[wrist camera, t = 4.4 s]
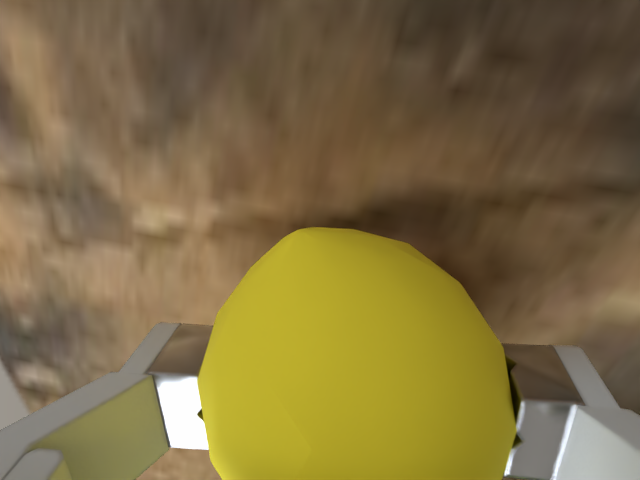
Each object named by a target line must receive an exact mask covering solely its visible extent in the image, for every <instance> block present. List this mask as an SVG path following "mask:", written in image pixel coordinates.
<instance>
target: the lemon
mask: <svg viewBox="0 0 640 480" xmlns="http://www.w3.org/2000/svg"><path fill="white" fill-rule="evenodd" d="M197 385H198V391H199V397H200V402H201V408H202V414H203V419H204V425H205V431H206V437H207V442H208V448H209V454H210V459H211V462H212V464H213V466H214V467H215V469H216V470H217V472H218V474H219V475H220V477H221V478H222V480H502V477H503V474H504V471H505V468H506V464H507V461H508V458H509V455H510V451H511V448H512V445H513V442H514V439H515V435H516V432H517V429H516V423H515V417H514V410H513V404H512V398H511V391H510V385H509V379H508V372H507V366H506V360H505V354H504V348H503V346H502V345H501V343H500V342H499V340H498V339H497V337H496V336H495V334H494V333H493V331H492V330H491V328H490V327H489V325H488V324H487V322H486V321H485V319H484V318H483V316H482V315H481V313H480V312H479V310H478V309H477V307H476V306H475V304H474V303H473V301H472V300H471V298H470V297H469V295H468V294H467V292H466V291H465V289H464V288H463V286H462V285H461V283H460V282H458V281H457V280H456V279H455V278H453V277H452V276H451V275H449V274H448V273H447V272H445V271H444V270H443V269H441V268H440V267H439V266H437V265H436V264H435V263H434V262H432V261H431V260H430V259H428V258H427V257H426V256H424V255H423V254H422V253H420V252H419V251H418V250H416V249H415V248H414V247H412V246H411V245H410V244H409V243H405V242H401V241H398V240H394V239H390V238H386V237H382V236H378V235H375V234H371V233H367V232H363V231H359V230H355V229H341V228H323V227H309V228H304V229H299V230H296V231H294V232H293V233H291V234H289V235H287V236H285V237H284V238H282V239H281V240H280V241H279V242H278V243H277V244H276V245H275V246H274V247H272V248H271V249H270V250H269V251H268V252H267V253H266V254H265V255H264V256H262V257H261V258H260V259H259V260H258V261H257V262H256V263H255V264H254V265H253V266H251V268H250V269H249V270H248V272H247V273H246V275H245V276H244V277H243V279H242V280H241V281H240V283H239V284H238V286H237V287H236V288H235V290H234V291H233V292H232V294H231V295H230V297H229V298H228V299H227V301H226V302H225V303H224V305H223V306H222V308H221V309H220V310H219V312H218V313H217V316H216V319H215V322H214V326H213V329H212V333H211V336H210V339H209V343H208V346H207V349H206V353H205V356H204V360H203V363H202V366H201V370H200V373H199V376H198V380H197Z"/></svg>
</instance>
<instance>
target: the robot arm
mask: <svg viewBox="0 0 640 480" xmlns="http://www.w3.org/2000/svg"><path fill="white" fill-rule="evenodd" d="M212 329H213V326H209V325H197V324H184V323H183V324H181V323H168V322H160V323H158V324H156V325H155V326H154V327H153V328H152V329H151V331H150V332H149V333H148V335H147V336H146V337H145V338H144V340H143V341H142V342H141V344H140V345H139V346H138V348H137V349H136V350H135V351H134V353H133V354H132V355H131V357H130V358H129V359H128V360H127V362H126V363H125V364H124V366H123V367H122V368H121V369H120V371H119V372H110V373H108V374H106V375H104V376H102V377H100V378H99V379H97V380H95V381H93V382H91V383H89V384H87V385H85V386H83V387H81V388H80V389H78V390H76V391H74V392H72V393H70V394H68V395H66V396H64V397H62V398H60V399H59V400H57V401H55V402H53V403H51V404H49V405H47V406H45V407H43V408H41V409H39V410H38V411H36V412H34V413H32V414H30V415H28V416H27V417H24V418H23V419H20V420H19V421H17V422H15V423H13V424H11V425H9V426H7V427H5V428H3V429H1V430H0V480H135V479H136V478H138V477H139V476H140V475H141V474H142V473H143V472H144V471H145V470H147V469H148V468H149V467H150V466H151V465H152V464H153V463H155V462H156V461H157V460H158V459H159V458H160V457H161V456H163V455H164V454H165V453H166V452H167V451H168V450H169V447H173V448H189V449H205V450H209V448H208V442H207V437H206V431H205V425H204V419H203V414H202V408H201V402H200V397H199V391H198V385H197V380H198V376H199V373H200V370H201V366H202V363H203V360H204V356H205V353H206V349H207V346H208V343H209V339H210V336H211V333H212ZM501 345H502V346H503V348H504V354H505V360H506V366H507V372H508V379H509V385H510V391H511V398H512V404H513V410H514V417H515V423H516V429H517V432H516V435H515V439H514V442H513V445H512V448H511V451H510V455H509V458H508V461H507V464H506V468H505V471H504V477H509V478H518V479H526V480H640V416H639V415H638V414H636V413H635V412H633V411H632V410H630V409H621V408H620V407H619V405H618V404H617V402H616V400H615V399H614V397H613V396H612V394H611V393H610V391H609V390H608V388H607V387H606V385H605V383H604V382H603V380H602V379H601V377H600V376H599V374H598V373H597V371H596V370H595V368H594V366H593V365H592V363H591V362H590V360H589V359H588V357H587V356H586V354H585V353H584V351H583V349H582V348H580V347H578V346H574V345H549V346H546V345H527V344H509V343H501Z"/></svg>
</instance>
